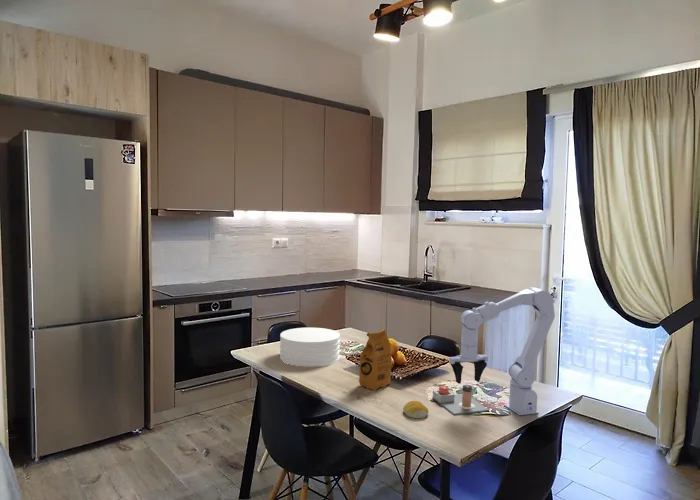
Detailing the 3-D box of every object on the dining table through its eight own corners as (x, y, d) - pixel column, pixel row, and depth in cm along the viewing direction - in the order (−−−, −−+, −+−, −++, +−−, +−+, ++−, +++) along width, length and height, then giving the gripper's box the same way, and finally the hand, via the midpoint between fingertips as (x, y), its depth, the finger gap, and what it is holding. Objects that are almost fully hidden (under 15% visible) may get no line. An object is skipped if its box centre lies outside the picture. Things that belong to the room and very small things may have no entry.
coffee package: (355, 385, 197) (356, 331, 195) (375, 378, 206) (377, 326, 204) (373, 391, 190) (375, 335, 188) (394, 384, 199) (395, 330, 197)
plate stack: (316, 371, 213) (317, 345, 212) (267, 360, 227) (267, 335, 227) (350, 356, 237) (351, 333, 236) (304, 346, 251) (304, 324, 250)
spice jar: (472, 406, 175) (473, 387, 175) (464, 407, 175) (465, 388, 174) (468, 403, 179) (469, 384, 178) (460, 404, 178) (461, 385, 177)
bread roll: (421, 407, 176) (421, 397, 175) (431, 418, 167) (431, 406, 167) (399, 409, 174) (399, 398, 173) (408, 419, 165) (408, 408, 165)
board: (489, 411, 174) (489, 402, 173) (454, 415, 169) (454, 406, 169) (465, 394, 189) (465, 387, 189) (432, 398, 185) (432, 390, 184)
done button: (450, 396, 181) (450, 388, 181) (441, 397, 180) (441, 389, 180) (445, 393, 185) (445, 385, 185) (436, 394, 184) (437, 386, 183)
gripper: (480, 340, 181) (479, 376, 182) (445, 342, 176) (444, 379, 177) (491, 345, 174) (490, 382, 175) (455, 348, 170) (454, 386, 171)
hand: (467, 381), depth 176 cm, fingers open, 7 cm apart
